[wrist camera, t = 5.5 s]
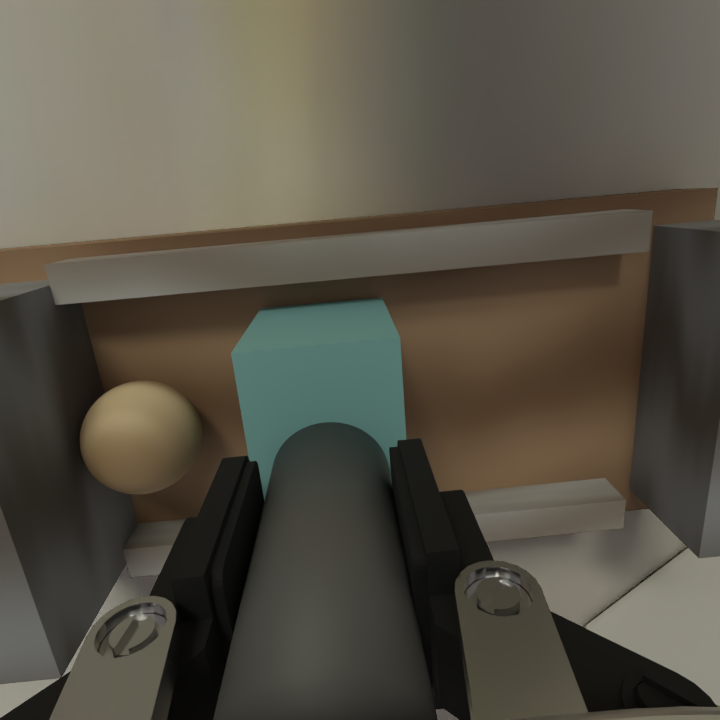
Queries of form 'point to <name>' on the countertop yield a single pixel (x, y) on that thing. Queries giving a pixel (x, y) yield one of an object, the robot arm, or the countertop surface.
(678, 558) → the milk carton
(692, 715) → the robot arm
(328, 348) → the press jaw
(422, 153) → the countertop surface
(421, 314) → the base
